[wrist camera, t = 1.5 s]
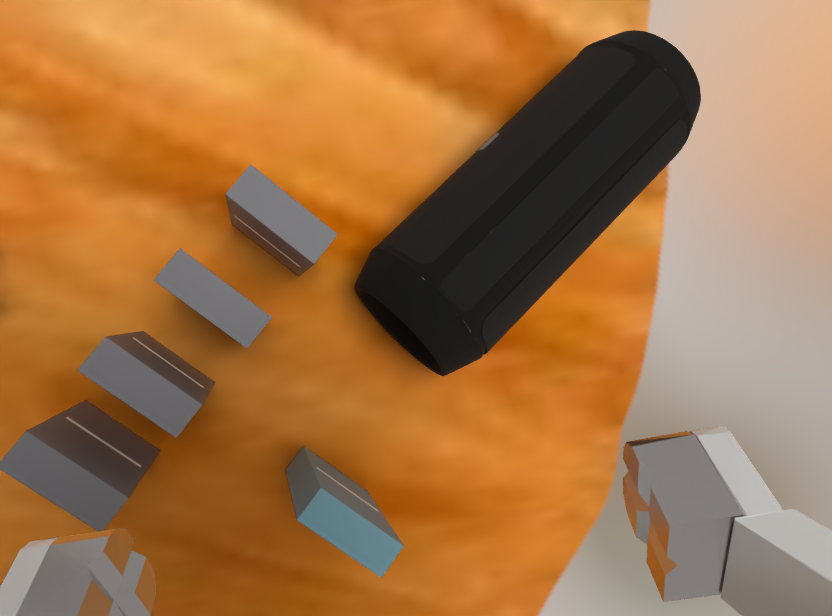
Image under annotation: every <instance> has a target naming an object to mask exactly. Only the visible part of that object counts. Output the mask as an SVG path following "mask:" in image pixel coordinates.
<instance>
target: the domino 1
mask: <svg viewBox="0 0 832 616" xmlns="http://www.w3.org/2000/svg"><path fill="white" fill-rule="evenodd" d="M77 371H79V372H80V373H82V374H83V375H85V376H86V377H88V378H89V379H91V380H92V381H94V382H95V383H96V384H98V385H99V386H101V387H102V388H104V389H105V390H107V391H108V392H110V393H111V394H113V395H114V396H115V397H117V398H118V399H120V400H121V401H123V402H124V403H126V404H127V405H129V406H130V407H132V408H133V409H135V410H136V411H137V412H139V413H140V414H142V415H143V416H145V417H146V418H148V419H149V420H151V421H152V422H154V423H155V424H156V425H158V426H159V427H161V428H162V429H164V430H165V431H167V432H168V433H170V434H171V435H173V436H174V437H176V438H177V436H178V435H179V434H180V433H181V431H182V430H183V429H184V428H185V426H186V425H187V424H188V423H189V421H190V420H191V419H192V418H193V416H194V415H195V414H196V413H197V411H198V410H199V409H200V407H201V406H202V405H203V403H204V401H205V399H206V397H207V396H208V394H209V392H210V390H211V388H212V386H213V384H214V381H212V380H211V379H210V378H208V377H207V376H205V375H204V374H203V373H201V372H200V371H198V370H197V369H196V368H194V367H193V366H191V365H190V364H189V363H187V362H186V361H184V360H183V359H182V358H180V357H179V356H177V355H176V354H175V353H173V352H172V351H170V350H169V349H168V348H166V347H165V346H163V345H162V344H161V343H159V342H158V341H156V340H155V339H154V338H152V337H151V336H149V335H148V334H147V333H145V332H144V331H141V332H134V333H127V334H121V335H114V336H108V337H105V338H104V339H103V340H102V342H101V343H100V344H99V345H98V346H97V348H96V349H95V350H94V351H93V352H92V353H91V355H90V356H89V357H88V358H87V359H86V361H85V362H84V363H83V364H82V365H81V367H80V368H79V369H78V370H77Z"/></svg>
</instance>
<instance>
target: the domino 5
mask: <svg viewBox="0 0 832 616" xmlns="http://www.w3.org/2000/svg"><path fill="white" fill-rule="evenodd" d="M286 474H287V479H288V483H289V487H290V492H291V496H292V500H293V505H294V509H295V513H296V518H297V520H298V521H299V522H300V523H302V524H303V525H305V526H306V527H308V528H309V529H311V530H312V531H314V532H315V533H317V534H318V535H319V536H321V537H322V538H324V539H325V540H327V541H328V542H330V543H331V544H333V545H334V546H336V547H337V548H339V549H340V550H341V551H343V552H344V553H346V554H347V555H349V556H350V557H352V558H353V559H355V560H356V561H358V562H359V563H360V564H362V565H363V566H365V567H366V568H368V569H369V570H371V571H372V572H374V573H375V574H377V575H378V576H380V577H381V578H382V576H383V575H384V574H385V572H386V571H387V569H388V568H389V566H390V565H391V564H392V562H393V561H394V559H395V558H396V556H397V555H398V554H399V552H400V551H401V549H402V548H403V546H404V545H403V544H402V542H401V541H400V539H399V538H398V536H397V535H396V533H395V532H394V530H393V529H392V527H391V526H390V524H389V523H388V521H387V520H386V518H385V517H384V515H383V514H382V512H381V511H380V509H379V508H378V506H377V505H376V503H375V502H374V500H373V499H372V497H371V496H370V494H369V493H368V491H367V490H365V489H364V488H362V487H361V486H360V485H358V484H357V483H355V482H354V481H353V480H351V479H350V478H348V477H347V476H346V475H344V474H343V473H341V472H340V471H339V470H337V469H336V468H334V467H333V466H332V465H330V464H329V463H327V462H326V461H325V460H323V459H322V458H320V457H319V456H318V455H316V454H315V453H313V452H312V451H311V450H309V449H308V448H306V447H305V446H303V447H302V448H301V450H300V451H299V452H298V454H297V455H296V456H295V458H294V459H293V460H292V462H291V463H290V464H289V466H288V467H287V468H286Z"/></svg>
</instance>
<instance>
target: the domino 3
mask: <svg viewBox="0 0 832 616" xmlns="http://www.w3.org/2000/svg"><path fill="white" fill-rule="evenodd" d="M154 281H156V282H157V283H158V284H160V285H161V286H162V287H164V288H165V289H166V290H168V291H169V292H171V293H172V294H173V295H175V296H176V297H177V298H179V299H180V300H181V301H183V302H184V303H186V304H187V305H188V306H190V307H191V308H192V309H194V310H195V311H196V312H198V313H199V314H200V315H202V316H203V317H205V318H206V319H207V320H209V321H210V322H211V323H213V324H214V325H215V326H217V327H218V328H220V329H221V330H222V331H224V332H225V333H226V334H228V335H229V336H230V337H232V338H233V339H235V340H236V341H237V342H239V343H240V344H241V345H243V346H244V347H245V348H248V347H249V346H250V344H251V343H252V342H253V341H254V339H255V338H256V337H257V336H258V334H259V333H260V332H261V331H262V329H263V328H264V327H265V326H266V324H267V323H268V322H269V320H270V319H271V318H272V317H271V316H269V315H268V314H267V313H265V312H264V311H263V310H261V309H260V308H259V307H257V306H256V305H255V304H253V303H252V302H251V301H249V300H248V299H247V298H245V297H244V296H243V295H241V294H240V293H239V292H238V291H236V290H235V289H234V288H232V287H231V286H230V285H228V284H227V283H226V282H224V281H223V280H222V279H220V278H219V277H218V276H216V275H215V274H214V273H212V272H211V271H210V270H208V269H207V268H206V267H204V266H203V265H202V264H200V263H199V262H198V261H196V260H195V259H194V258H192V257H191V256H190V255H188V254H187V253H186V252H184V251H183V250H182V249H179V250H178V251H177V253H176V254H175V255H174V256H173V257H172V258H171V260H170V261H169V262H168V263H167V264H166V266H165V267H164V268H163V269H162V270H161V272H160V273H159V274H158V275H157V276H156V277H155V279H154Z"/></svg>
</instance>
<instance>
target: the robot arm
mask: <svg viewBox="0 0 832 616" xmlns="http://www.w3.org/2000/svg"><path fill="white" fill-rule="evenodd" d="M623 459H624V462H625V464H626V466H627V468H628V470H629V472H628V473H627V474H626V475H625V476H624V477H623V494H624V499H625V505H626V510H627V513H628V516H629V519H630V522H631V525H632V527H633V530H634V532H635V535H636V537H637V538H639V539H640V540H642V541H643V542H644V543H646V544H647V564H648V566H649V569H650V571H651V574H652V576H653V578H654V581H655V582H656V585H657V588H658V590H659V592H660V595H661V597H662V599H663V602H665V601H674V600H681V599H689V598H696V597H705V596H712V595H720V594H721V598H722V599H723V600H724V601H725V602H727V603H728V604H729V605H730V606H731V607H733V608H734V609H735V610H736V611H737V612H738V613H739V614H741V615H742V616H832V530H830V529H828V528H826V527H824V526H823V525H821V524H819V523H818V522H816V521H814V520H813V519H811V518H809V517H807V516H806V515H804V514H802V513H800V512H798V511H797V510H795V509H788V510H783V509H782V507H781V506H780V505H779V503H778V501H777V500H776V498H775V497H774V495H773V494H772V493H771V491H770V489H769V488H768V487H767V485H766V484H765V482H764V481H763V479H762V478H761V476H760V475H759V473H758V472H757V470H756V469H755V467H754V466H753V464H752V463H751V461H750V460H749V458H748V457H747V456H746V454H745V453H744V451H743V450H742V448H741V447H740V445H739V444H738V443H737V441H736V439H735V438H734V436H733V435H732V433H731V432H730V430H729V429H727V428H725V427H724V426H717V427H711V428H705V429H699V430H694V431H690V432H687V431H685V432H679V433H674V434H669V435H663V436H657V437H652V438H647V439H641V440H635V441H629V442H626V443H625V446H624V452H623ZM134 542H135V540H134V539H133V537H132V536H131V535H130V533H129V532H128V531H127V530H126V528H120V529H111V530H104V531H97V532H90V533H82V534H75V535H68V536H61V537H56V538H49V539H43V540H36V541H30V542H29V543H28V544H26V545H25V546H24V547H23V548H22V549H21V550H20V551H19V553H18V555H17V557H16V558H15V560H14V562H13V564H12V566H11V568H10V570H9V572H8V573H7V575H6V577H5V579H4V581H3V583H2V585H1V587H0V616H150V615H151V613H152V609H153V605H154V602H155V598H156V577H155V574H154V570H153V567H152V565H151V563H150V562H149V560H148V559H147V557H145V556H143V555H141V554H139V553H137V552H135V551H133V550H132V547H133V544H134Z"/></svg>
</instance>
